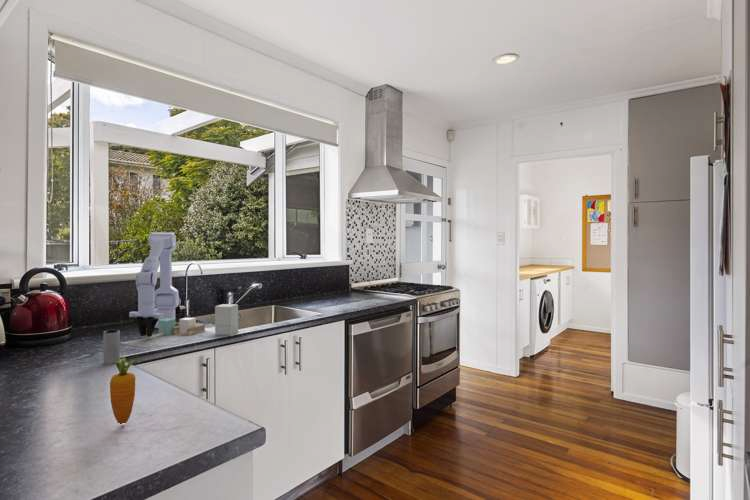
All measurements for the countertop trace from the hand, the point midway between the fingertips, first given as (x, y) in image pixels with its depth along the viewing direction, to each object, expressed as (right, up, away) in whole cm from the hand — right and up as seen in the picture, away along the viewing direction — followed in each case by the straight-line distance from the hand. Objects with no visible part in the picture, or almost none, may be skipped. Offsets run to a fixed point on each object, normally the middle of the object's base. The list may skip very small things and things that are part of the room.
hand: (146, 335), depth 166 cm
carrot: (+36, -4, -76) cm, 84 cm away
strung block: (+2, -1, +7) cm, 7 cm away
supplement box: (+27, -2, +13) cm, 30 cm away
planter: (+5, -3, -29) cm, 30 cm away
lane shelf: (+7, -2, +14) cm, 16 cm away
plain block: (+11, -1, +13) cm, 17 cm away
